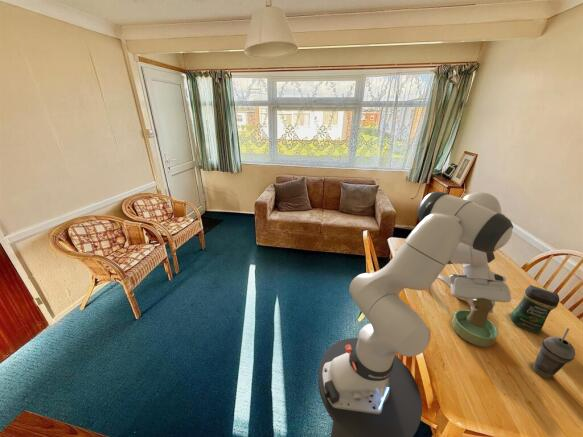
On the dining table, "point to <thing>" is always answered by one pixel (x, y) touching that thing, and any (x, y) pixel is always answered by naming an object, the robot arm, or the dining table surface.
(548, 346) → the beverage cup
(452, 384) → the dining table surface
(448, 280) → the spoon rest
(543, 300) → the coffee jar
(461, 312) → the bowl
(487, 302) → the brown peanut shape
